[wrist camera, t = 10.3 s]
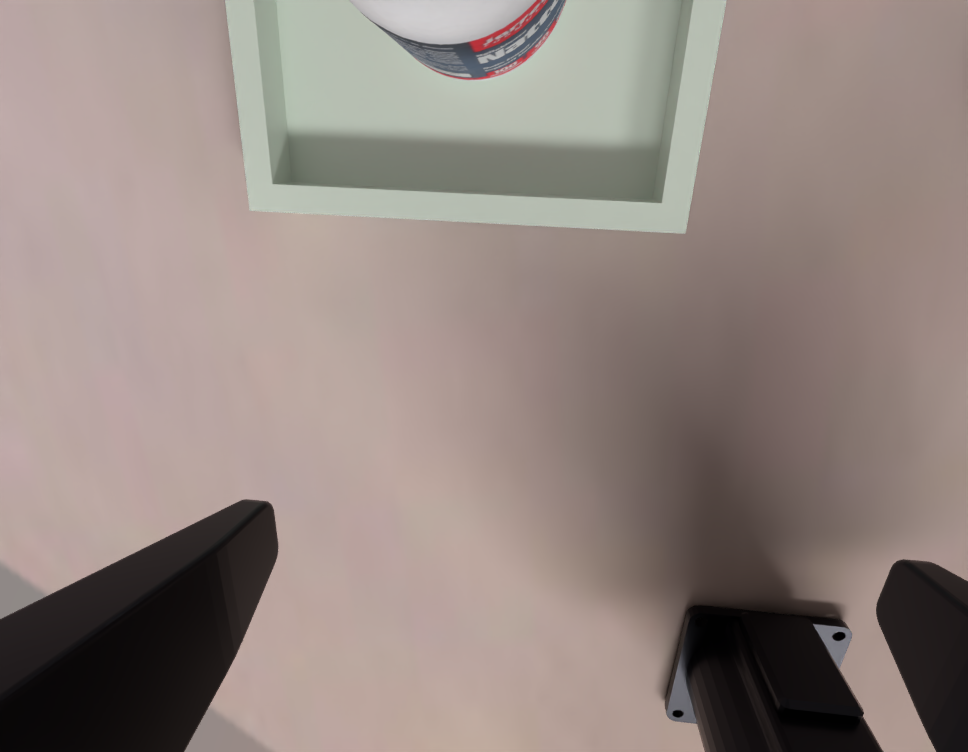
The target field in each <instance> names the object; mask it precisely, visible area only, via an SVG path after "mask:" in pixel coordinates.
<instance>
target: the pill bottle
mask: <svg viewBox="0 0 968 752" xmlns="http://www.w3.org/2000/svg"><path fill="white" fill-rule="evenodd" d="M349 1H350V2H351V3H352V4H353V5H354V6H355V7H356V8H357V9H358V10H359V11H360V12H361V13H362V14H363V15H364V16H365V17H367V18H368V19H369V20H370V21H371V22H373V23H374V24H375V25H376V26H378V27H379V28H380V29H381V30H383V31H384V32H385V33H386V34H388V35H389V36H390V37H391V38H392V39H393V40H395V41H396V42H397V43H398V44H399V45H400V46H402V47H403V48H404V49H405V50H406V51H407V52H408V53H410V54H411V55H412V56H413V57H414V58H415V59H416V60H418V61H419V62H420V63H422V64H423V65H425V66H426V67H428V68H429V69H431V70H432V71H434V72H436V73H438V74H441V75H443V76H446V77H449V78H452V79H457V80H462V81H484V80H490V79H494V78H498V77H500V76H503V75H506V74H508V73H510V72H512V71H514V70H515V69H517V68H519V67H520V66H521V65H523V64H524V63H526V62H527V61H528V60H529V59H530V58H532V57H533V56H534V55H535V54H536V53H537V52H538V51H539V49H540V48H541V47H542V46H543V45H544V44H545V42H546V41H547V39H548V38H549V36H550V35H551V34H552V32H553V30H554V28H555V27H556V25H557V23H558V20H559V18H560V16H561V14H562V11H563V8H564V6H565V3H566V0H349Z"/></svg>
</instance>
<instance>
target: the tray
mask: <svg viewBox="0 0 968 752" xmlns="http://www.w3.org/2000/svg"><path fill="white" fill-rule="evenodd" d="M225 5H226V13H227V22H228V30H229V39H230V47H231V56H232V64H233V73H234V81H235V90H236V98H237V107H238V115H239V124H240V132H241V141H242V150H243V158H244V167H245V175H246V184H247V192H248V201H249V209H250V211H264V212H283V213H302V214H321V215H340V216H359V217H378V218H397V219H416V220H435V221H454V222H473V223H492V224H511V225H530V226H549V227H568V228H587V229H606V230H625V231H643V232H662V233H681V234H686V228H687V222H688V217H689V211H690V205H691V200H692V194H693V188H694V182H695V177H696V171H697V165H698V160H699V154H700V148H701V143H702V137H703V131H704V126H705V120H706V114H707V109H708V103H709V97H710V91H711V86H712V80H713V74H714V69H715V63H716V57H717V52H718V46H719V40H720V35H721V29H722V23H723V18H724V12H725V6H726V0H566V3H565V6H564V8H563V11H562V14H561V16H560V18H559V20H558V23H557V25H556V27H555V28H554V30H553V32H552V34H551V35H550V36H549V38H548V39H547V41H546V42H545V44H544V45H543V46H542V47H541V48H540V49H539V51H538V52H537V53H536V54H535V55H534V56H533V57H532V58H530V59H529V60H528V61H527V62H526V63H524V64H523V65H521V66H520V67H519V68H517V69H515V70H514V71H512V72H510V73H508V74H506V75H503V76H500V77H498V78H494V79H490V80H484V81H462V80H457V79H452V78H449V77H446V76H443V75H441V74H438V73H436V72H434V71H432V70H431V69H429V68H428V67H426V66H425V65H423V64H422V63H420V62H419V61H418V60H416V59H415V58H414V57H413V56H412V55H411V54H410V53H408V52H407V51H406V50H405V49H404V48H403V47H402V46H400V45H399V44H398V43H397V42H396V41H395V40H393V39H392V38H391V37H390V36H389V35H388V34H386V33H385V32H384V31H383V30H381V29H380V28H379V27H378V26H376V25H375V24H374V23H373V22H371V21H370V20H369V19H368V18H367V17H365V16H364V15H363V14H362V13H361V12H360V11H359V10H358V9H357V8H356V7H355V6H354V5H353V4H352V3H351V2H350V1H349V0H225Z"/></svg>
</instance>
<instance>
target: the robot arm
mask: <svg viewBox="0 0 968 752" xmlns="http://www.w3.org/2000/svg"><path fill="white" fill-rule="evenodd" d="M277 555H278V539H277V531H276V523H275V515H274V509H273V506H272V504H270V503H269V502H267V501H259V500H248V499H245V500H241V501H239V502H237V503H235V504H233V505H231V506H229V507H227V508H225V509H223V510H221V511H219V512H217V513H215V514H213V515H211V516H208V517H206V518H204V519H202V520H200V521H198V522H196V523H194V524H192V525H190V526H188V527H186V528H184V529H182V530H180V531H178V532H176V533H174V534H172V535H170V536H168V537H166V538H164V539H162V540H160V541H158V542H156V543H154V544H152V545H150V546H148V547H146V548H144V549H142V550H140V551H137V552H135V553H133V554H131V555H129V556H127V557H125V558H123V559H121V560H119V561H117V562H115V563H113V564H111V565H109V566H107V567H105V568H103V569H101V570H99V571H97V572H95V573H93V574H91V575H89V576H87V577H85V578H83V579H81V580H79V581H77V582H75V583H73V584H71V585H69V586H67V587H64V588H62V589H60V590H58V591H56V592H54V593H52V594H50V595H48V596H46V597H44V598H42V599H41V600H38V601H36V602H34V603H32V604H30V605H28V606H26V607H24V608H22V609H20V610H18V611H16V612H14V613H12V614H10V615H8V616H6V617H4V618H2V619H0V752H184V751H185V749H186V747H187V745H188V744H189V742H190V740H191V738H192V736H193V734H194V733H195V731H196V729H197V727H198V725H199V724H200V722H201V720H202V718H203V716H204V714H205V713H206V711H207V709H208V707H209V705H210V703H211V702H212V700H213V698H214V696H215V694H216V692H217V691H218V689H219V687H220V685H221V683H222V681H223V680H224V678H225V676H226V674H227V672H228V670H229V668H230V666H231V664H232V662H233V660H234V659H235V657H236V654H237V652H238V650H239V648H240V645H241V643H242V641H243V639H244V636H245V634H246V632H247V629H248V627H249V624H250V622H251V620H252V617H253V615H254V612H255V610H256V608H257V605H258V603H259V600H260V598H261V596H262V593H263V591H264V589H265V586H266V584H267V581H268V579H269V577H270V574H271V572H272V569H273V567H274V565H275V562H276V559H277ZM876 614H877V619H878V622H879V625H880V627H881V630H882V632H883V634H884V637H885V639H886V641H887V644H888V646H889V648H890V651H891V653H892V655H893V657H894V660H895V662H896V664H897V667H898V669H899V671H900V674H901V676H902V678H903V680H904V683H905V685H906V687H907V690H908V692H909V694H910V697H911V699H912V701H913V704H914V706H915V708H916V710H917V713H918V715H919V717H920V719H921V722H922V724H923V726H924V728H925V730H926V732H927V734H928V736H929V738H930V740H931V742H932V744H933V746H934V748H935V750H936V752H968V581H966V580H964V579H962V578H961V577H959V576H957V575H955V574H953V573H951V572H950V571H948V570H946V569H944V568H942V567H940V566H939V565H937V564H934V563H931V562H926V561H916V560H899V561H897V562H896V563H894V564H893V566H892V567H891V570H890V572H889V575H888V577H887V579H886V582H885V584H884V587H883V589H882V592H881V594H880V597H879V599H878V602H877V607H876ZM698 618H702V619H698ZM836 632H837V633H836ZM851 638H852V633H851V631H850V629H849V628H848V626H847V625H846V623H845V622H843V621H842V620H838V619H828V618H818V617H808V616H798V615H788V614H778V613H768V612H759V611H749V610H739V609H729V608H719V607H709V606H694V607H691V608H690V609H689V610H688V611H687V613H686V617H685V622H684V626H683V630H682V634H681V638H680V643H679V647H678V651H677V655H676V659H675V664H674V668H673V672H672V676H671V681H670V685H669V689H668V693H667V697H666V702H665V709H666V714H667V716H668V718H669V719H671V720H673V721H678V722H686V723H695V724H697V725H698V729H699V732H700V736H701V739H702V743H703V747H704V750H705V752H883V750H882V749H881V747H880V745H879V743H878V742H877V740H876V738H875V736H874V735H873V733H872V731H871V729H870V728H869V726H868V724H867V723H866V721H865V719H864V717H863V714H864V712H863V709H862V707H861V705H860V704H859V702H858V700H857V699H856V697H855V695H854V694H853V692H852V690H851V688H850V687H849V685H848V683H847V682H846V680H845V678H844V676H843V675H842V673H841V671H840V670H839V669H840V666H841V664H842V661H843V658H844V656H845V653H846V651H847V648H848V646H849V643H850V641H851Z"/></svg>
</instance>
